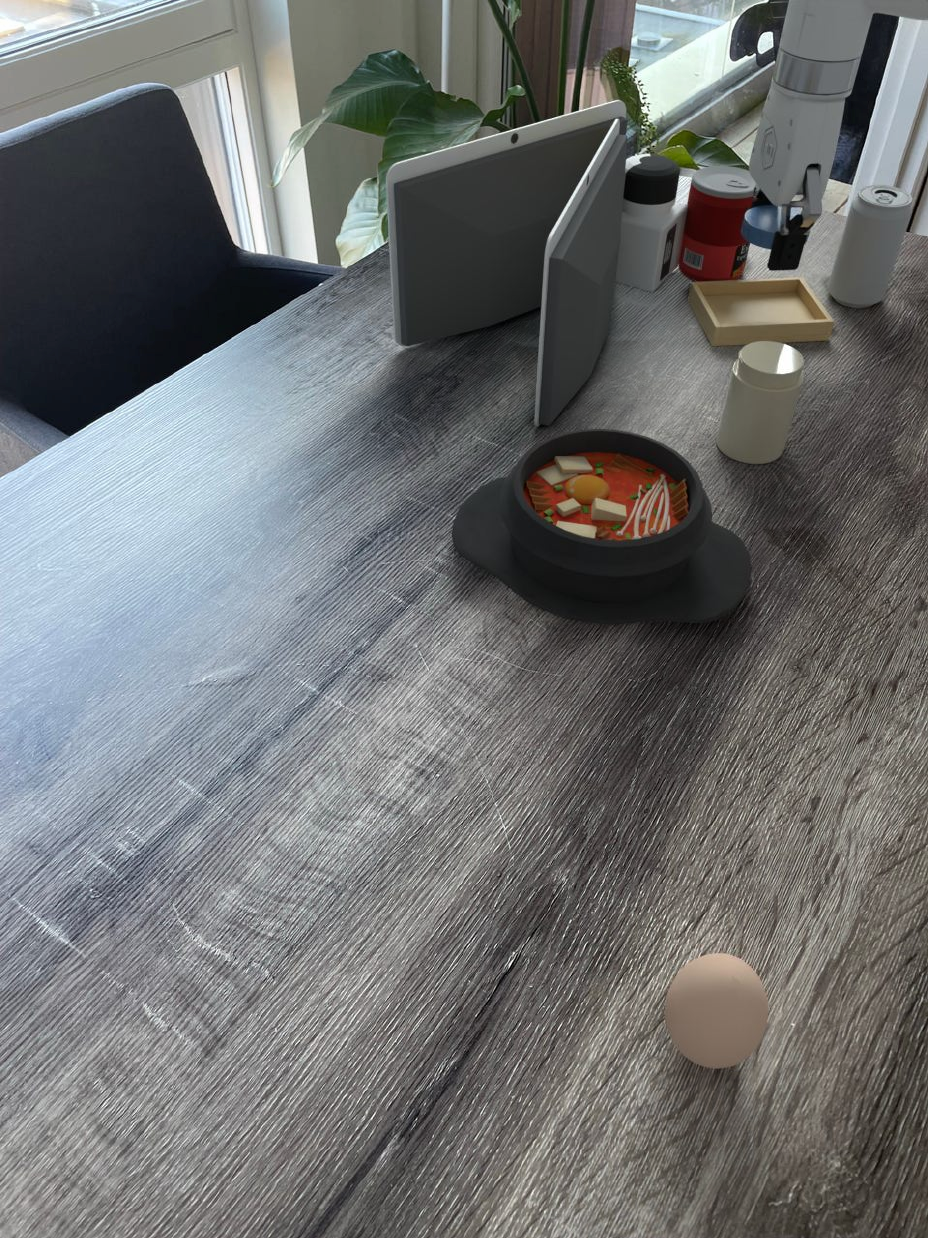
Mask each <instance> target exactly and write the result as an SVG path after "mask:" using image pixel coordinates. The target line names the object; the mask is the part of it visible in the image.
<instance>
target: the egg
mask: <svg viewBox="0 0 928 1238" xmlns="http://www.w3.org/2000/svg"><path fill="white" fill-rule="evenodd" d="M768 1019H769V1002H768V997H767V993H766V990H765V988H764V985H763V982H762V980H761V979H760V976H759V975H758V973H756V971H755V970H754V969H753V968H752V967H751V965H750V964H748V963H747V961H744V960H743V959H741V958H739V957H737V956H734V955H732V954H730V953H723V952H722V953H721V952H713V953H708V954H705V955H701V956H698V957H696V958H694V959H693V960H691V961H689V962H688V963H686V964H685V965H684V966H683V967H682V968H681V969H680V970H679V971H678V972H677V973H676V975H675V977H674V978H673V980H672V982H671V983H670V986H669V988H668V991H667V993H666V997H665V1002H664V1021H665V1026H666V1029H667V1032H668V1034H669V1037H670V1040H671V1041H672V1043H673V1045H674V1047H675V1048H676V1049H677V1050H678V1051H679V1052H680V1054H681V1055H682V1056H683V1057H685V1058H686V1059H687V1060H688V1061H690V1062H692V1063H693V1064H696V1065H698V1066H700V1067H703V1068H708V1069H713V1070H714V1069H715V1070H717V1069H719V1070H720V1069H726V1068H732V1067H734V1066H737V1065H739V1064H740V1063H742V1062H743V1061H745V1060H747V1059H748V1058H749V1057H750V1056H751V1055H752V1054H753V1053H754V1052H755V1051H756V1050H757V1048H758V1047H759V1045H760V1043H761V1042H762V1040H763V1038H764V1035H765V1033H766V1029H767V1025H768Z"/></svg>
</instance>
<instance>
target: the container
mask: <svg viewBox="0 0 928 1238" xmlns="http://www.w3.org/2000/svg"><path fill="white" fill-rule="evenodd" d="M680 174H681V168H680V166H679V164H678V163H677V162H676V161H674V160H673V159H672V158H669V157H667V156H665V155H661V154H655V153H641V154H637V155H633V156H630V157H628V158H626V167H625V181H624V194H623V207H622V221H621V234H620V245H619V254H618V262H617V271H616V279H615V283H616V284H617V283H618V284H622V285H625V286H628V287H632V288H636V289H639V290H643V291H645V292H649V293H653V292H654V291H656V290H657V289H658V288H659V287H660V285H662V283H663V282H664V281H665V280H667V279H668V277H669V276H670V275H671V274H672V273H673V272H674V271H675V270H677V268H678V267H679V264H678V263H679V257H680V251H681V245H682V239H683V233H684V227H685V221H686V215H687V210H688V206H687V203H684V202H680V201H676V199H677V193H678V187H679V181H680Z"/></svg>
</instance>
